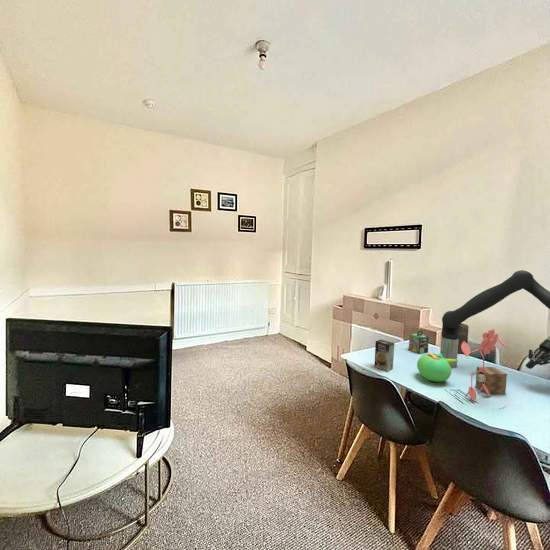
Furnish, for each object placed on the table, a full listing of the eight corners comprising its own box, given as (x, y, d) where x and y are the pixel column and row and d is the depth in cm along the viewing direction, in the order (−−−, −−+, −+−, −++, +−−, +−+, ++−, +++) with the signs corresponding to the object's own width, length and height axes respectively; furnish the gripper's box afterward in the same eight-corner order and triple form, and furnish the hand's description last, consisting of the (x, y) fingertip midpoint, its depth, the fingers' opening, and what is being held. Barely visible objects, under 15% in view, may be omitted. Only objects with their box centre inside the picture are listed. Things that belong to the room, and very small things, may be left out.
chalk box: (417, 348, 225) (418, 328, 223) (428, 352, 216) (429, 331, 215) (407, 350, 221) (409, 329, 219) (418, 354, 213) (419, 332, 211)
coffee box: (373, 367, 190) (374, 341, 188) (379, 364, 194) (380, 339, 192) (387, 372, 183) (389, 344, 181) (393, 369, 187) (394, 342, 185)
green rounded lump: (410, 373, 181) (412, 348, 180) (438, 372, 183) (440, 347, 181) (428, 387, 163) (430, 360, 162) (459, 386, 165) (461, 359, 163)
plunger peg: (482, 386, 157) (483, 375, 157) (475, 381, 163) (476, 370, 162) (505, 385, 158) (506, 375, 157) (497, 381, 163) (498, 370, 163)
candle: (456, 349, 222) (458, 322, 220) (468, 352, 217) (470, 324, 215) (453, 352, 217) (455, 323, 215) (465, 355, 212) (467, 326, 210)
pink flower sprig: (451, 398, 152) (457, 327, 147) (486, 389, 162) (494, 323, 157) (482, 415, 138) (491, 337, 133) (519, 404, 147) (528, 332, 143)
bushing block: (487, 394, 156) (489, 374, 155) (475, 386, 165) (476, 366, 164) (505, 394, 156) (507, 374, 155) (492, 386, 165) (493, 366, 164)
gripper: (537, 335, 167) (513, 357, 167) (561, 343, 153) (534, 367, 154) (546, 345, 167) (521, 367, 168) (570, 354, 154) (543, 378, 155)
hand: (527, 367), depth 161 cm, fingers closed
